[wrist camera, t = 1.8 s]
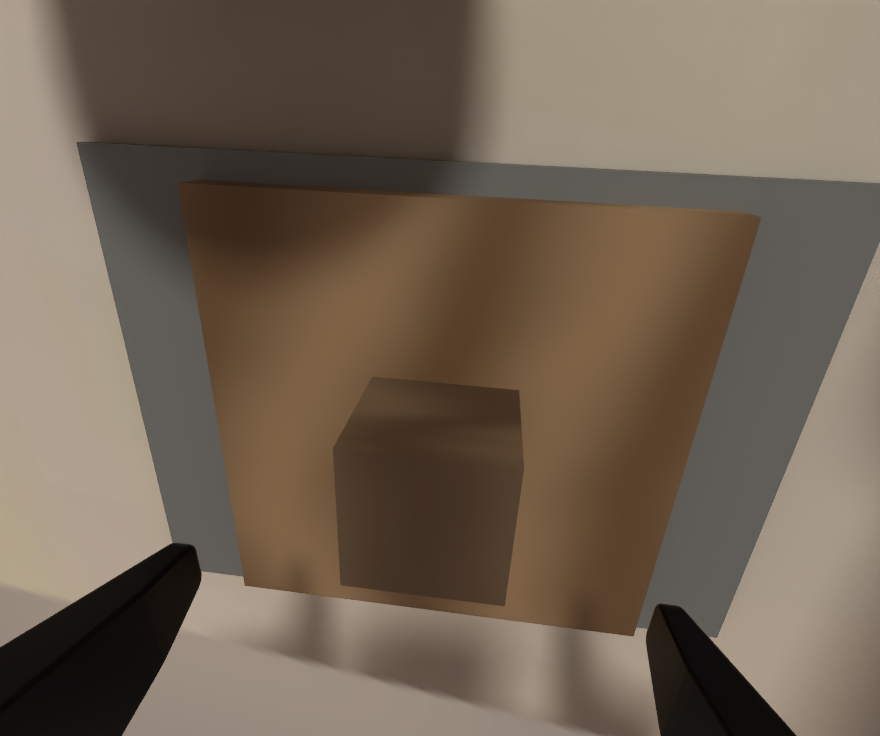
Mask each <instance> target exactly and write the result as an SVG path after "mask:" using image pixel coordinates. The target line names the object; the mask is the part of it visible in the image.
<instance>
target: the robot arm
mask: <svg viewBox="0 0 880 736" xmlns="http://www.w3.org/2000/svg"><path fill="white" fill-rule="evenodd" d="M200 582H201V569H200V565H199V560H198V556H197V551H196V548H195V547H194V546H193V545H191V544H184V543H172V544H170V545H168V546H166V547H165V548H163V549H161V550H160V551H158V552H156V553H155V554H153V555H151V556H150V557H148V558H146V559H145V560H143V561H142V562H140V563H138V564H137V565H135V566H133V567H132V568H130V569H128V570H127V571H125V572H123V573H122V574H120V575H118V576H117V577H115V578H114V579H112V580H110V581H109V582H107V583H105V584H104V585H102V586H100V587H99V588H97V589H95V590H94V591H92V592H90V593H89V594H87V595H86V596H84V597H82V598H81V599H79V600H77V601H76V602H74V603H72V604H71V605H69V606H67V607H66V608H64V609H63V610H61V611H59V612H58V613H56V614H54V615H53V616H51V617H50V618H48V619H46V620H44V621H43V622H42V623H39V624H38V625H36V626H35V627H33V628H31V629H30V630H28V631H26V632H25V633H23V634H21V635H20V636H18V637H16V638H15V639H13V640H11V641H10V642H8V643H7V644H5V645H4V646H2V647H0V736H122V734H123V733H124V731H125V729H126V727H127V725H128V724H129V722H130V720H131V719H132V717H133V715H134V714H135V712H136V710H137V708H138V707H139V705H140V703H141V702H142V700H143V698H144V696H145V695H146V693H147V691H148V689H149V688H150V685H151V684H152V683H153V681H154V679H155V677H156V675H157V674H158V672H159V670H160V668H161V667H162V665H163V663H164V661H165V659H166V657H167V655H168V653H169V651H170V648H171V647H172V644H173V642H174V640H175V638H176V636H177V634H178V631H179V629H180V627H181V625H182V623H183V621H184V618H185V616H186V614H187V612H188V610H189V608H190V605H191V603H192V601H193V599H194V597H195V595H196V592H197V590H198V588H199V586H200ZM646 646H647V653H648V659H649V666H650V672H651V679H652V685H653V691H654V698H655V704H656V711H657V717H658V723H659V729H660V735H661V736H796V735H795V733H794V732H793V731H792V730H791V729H790V728H789V727H788V726H787V724H786V723H785V722H784V721H783V720H782V719H781V718H780V717H779V715H778V714H777V713H776V712H775V711H774V710H773V709H772V708H771V707H770V705H769V704H768V703H767V702H766V701H765V700H764V699H763V698H762V696H761V695H760V694H759V693H758V692H757V691H756V690H755V689H754V687H753V686H752V685H751V684H750V683H749V682H748V681H747V680H746V678H745V677H744V676H743V675H742V674H741V673H740V672H739V671H738V669H737V668H736V667H735V666H734V665H733V664H732V663H731V662H730V661H729V659H728V658H727V657H726V656H725V655H724V654H723V653H722V652H721V650H720V649H719V648H718V647H717V646H716V645H715V644H714V643H713V641H712V640H711V639H710V638H709V637H708V636H707V635H706V634H705V632H704V631H703V630H702V629H701V628H700V627H699V626H698V625H697V624H696V622H695V621H694V620H693V619H692V618H691V617H690V616H689V615H688V613H687V612H686V611H685V610H684V609H683V608H681V607H680V606H677V605H669V604H657V605H656V607H655V609H654V612H653V615H652V618H651V621H650V624H649V627H648V630H647V635H646Z"/></svg>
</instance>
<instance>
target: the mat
mask: <svg viewBox="0 0 880 736" xmlns="http://www.w3.org/2000/svg"><path fill="white" fill-rule="evenodd" d="M77 146H78V151H79V155H80V159H81V163H82V167H83V171H84V176H85V180H86V184H87V188H88V192H89V196H90V201H91V205H92V209H93V213H94V217H95V221H96V225H97V230H98V234H99V238H100V242H101V246H102V250H103V255H104V259H105V263H106V267H107V271H108V275H109V280H110V284H111V288H112V292H113V296H114V300H115V305H116V309H117V313H118V317H119V321H120V325H121V329H122V334H123V338H124V342H125V346H126V350H127V354H128V359H129V363H130V367H131V371H132V375H133V379H134V384H135V388H136V392H137V396H138V400H139V404H140V409H141V413H142V417H143V421H144V425H145V429H146V434H147V438H148V442H149V446H150V450H151V454H152V458H153V463H154V467H155V471H156V475H157V479H158V483H159V488H160V492H161V496H162V500H163V504H164V508H165V513H166V517H167V521H168V525H169V529H170V533H171V538H172V542H173V543H184V544H191V545H193V546H194V547H195V548H196V551H197V556H198V560H199V565H200V569H201V571H206V572H213V573H221V574H229V575H237V576H243V571H242V565H241V559H240V553H239V547H238V541H237V535H236V529H235V523H234V517H233V511H232V505H231V500H230V494H229V488H228V482H227V476H226V470H225V464H224V458H223V452H222V446H221V440H220V434H219V428H218V422H217V416H216V410H215V404H214V398H213V392H212V386H211V380H210V374H209V368H208V362H207V357H206V351H205V345H204V339H203V333H202V327H201V321H200V315H199V309H198V303H197V297H196V291H195V285H194V279H193V273H192V267H191V261H190V255H189V249H188V243H187V237H186V231H185V225H184V219H183V213H182V208H181V202H180V196H179V190H178V184H177V183H180V182H187V181H195V180H211V181H228V182H245V183H263V184H280V185H297V186H314V187H331V188H348V189H366V190H383V191H400V192H417V193H434V194H452V195H469V196H486V197H503V198H520V199H537V200H555V201H572V202H589V203H606V204H623V205H641V206H658V207H675V208H692V209H709V210H726V211H742V212H746V213H749V214H752V215H756V216H759V217H762V218H761V221H760V224H759V228H758V231H757V234H756V237H755V241H754V244H753V247H752V250H751V254H750V257H749V260H748V263H747V267H746V270H745V273H744V277H743V280H742V283H741V286H740V290H739V293H738V296H737V299H736V303H735V306H734V309H733V313H732V316H731V319H730V322H729V326H728V329H727V332H726V335H725V339H724V342H723V345H722V349H721V352H720V355H719V358H718V362H717V365H716V368H715V371H714V375H713V378H712V381H711V384H710V388H709V391H708V394H707V398H706V401H705V404H704V407H703V411H702V414H701V417H700V420H699V424H698V427H697V430H696V434H695V437H694V440H693V443H692V447H691V450H690V453H689V456H688V460H687V463H686V466H685V469H684V473H683V476H682V479H681V483H680V486H679V489H678V492H677V496H676V499H675V502H674V505H673V509H672V512H671V515H670V519H669V522H668V525H667V528H666V532H665V535H664V538H663V541H662V545H661V548H660V551H659V554H658V558H657V561H656V564H655V568H654V571H653V574H652V577H651V581H650V584H649V587H648V590H647V594H646V597H645V600H644V604H643V607H642V610H641V613H640V617H639V620H638V623H637V626H636V627H639V628H647V629H648V627H649V624H650V621H651V618H652V615H653V612H654V609H655V607H656V605H657V604H669V605H677V606H680V607H681V608H683V609H684V610H685V611H686V612H687V613H688V615H689V616H690V617H691V618H692V619H693V620H694V621H695V622H696V624H697V625H698V626H699V627H700V628H701V629H702V630H703V631H704V632H705V634H706V635H707V636H709V637H716V638H717V636H718V634H719V632H720V629H721V627H722V624H723V622H724V619H725V617H726V614H727V612H728V610H729V607H730V605H731V602H732V600H733V597H734V595H735V593H736V590H737V588H738V585H739V583H740V580H741V578H742V575H743V573H744V571H745V568H746V566H747V563H748V561H749V558H750V556H751V554H752V551H753V549H754V546H755V544H756V541H757V539H758V537H759V534H760V532H761V529H762V527H763V524H764V522H765V519H766V517H767V515H768V512H769V510H770V507H771V505H772V502H773V500H774V498H775V495H776V493H777V490H778V488H779V485H780V483H781V481H782V478H783V476H784V473H785V471H786V468H787V466H788V463H789V461H790V459H791V456H792V454H793V451H794V449H795V446H796V444H797V442H798V439H799V437H800V434H801V432H802V429H803V427H804V424H805V422H806V420H807V417H808V415H809V412H810V410H811V407H812V405H813V403H814V400H815V398H816V395H817V393H818V390H819V388H820V386H821V383H822V381H823V378H824V376H825V373H826V371H827V368H828V366H829V364H830V361H831V359H832V356H833V354H834V351H835V349H836V347H837V344H838V342H839V339H840V337H841V334H842V332H843V330H844V327H845V325H846V322H847V320H848V317H849V315H850V312H851V310H852V308H853V305H854V303H855V300H856V298H857V295H858V293H859V291H860V288H861V286H862V283H863V281H864V278H865V276H866V273H867V271H868V269H869V266H870V264H871V261H872V259H873V256H874V254H875V252H876V249H877V247H878V244H879V242H880V183H862V182H843V181H824V180H805V179H786V178H767V177H747V176H728V175H709V174H690V173H671V172H652V171H633V170H614V169H595V168H576V167H556V166H537V165H518V164H499V163H480V162H461V161H442V160H423V159H404V158H385V157H366V156H346V155H327V154H308V153H289V152H270V151H251V150H232V149H213V148H194V147H175V146H156V145H136V144H117V143H98V142H77Z"/></svg>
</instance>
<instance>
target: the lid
mask: <svg viewBox="0 0 880 736" xmlns="http://www.w3.org/2000/svg"><path fill="white" fill-rule="evenodd" d="M177 184H178V190H179V196H180V202H181V208H182V213H183V219H184V225H185V231H186V237H187V243H188V249H189V255H190V261H191V267H192V273H193V279H194V285H195V291H196V297H197V303H198V309H199V315H200V321H201V327H202V333H203V339H204V345H205V351H206V357H207V362H208V368H209V374H210V380H211V386H212V392H213V398H214V404H215V410H216V416H217V422H218V428H219V434H220V440H221V446H222V452H223V458H224V464H225V470H226V476H227V482H228V488H229V494H230V500H231V505H232V511H233V517H234V523H235V529H236V535H237V541H238V547H239V553H240V559H241V565H242V571H243V577H244V583H245V586H253V587H260V588H268V589H276V590H283V591H291V592H299V593H306V594H314V595H322V596H329V597H337V598H344V599H352V600H360V601H367V602H375V603H383V604H390V605H398V606H406V607H413V608H421V609H429V610H436V611H444V612H451V613H459V614H467V615H474V616H482V617H490V618H497V619H505V620H513V621H520V622H528V623H535V624H543V625H551V626H558V627H566V628H574V629H581V630H589V631H597V632H604V633H612V634H620V635H627V636H634V633H635V630H636V626H637V623H638V620H639V617H640V613H641V610H642V607H643V604H644V600H645V597H646V594H647V590H648V587H649V584H650V581H651V577H652V574H653V571H654V568H655V564H656V561H657V558H658V554H659V551H660V548H661V545H662V541H663V538H664V535H665V532H666V528H667V525H668V522H669V519H670V515H671V512H672V509H673V505H674V502H675V499H676V496H677V492H678V489H679V486H680V483H681V479H682V476H683V473H684V469H685V466H686V463H687V460H688V456H689V453H690V450H691V447H692V443H693V440H694V437H695V434H696V430H697V427H698V424H699V420H700V417H701V414H702V411H703V407H704V404H705V401H706V398H707V394H708V391H709V388H710V384H711V381H712V378H713V375H714V371H715V368H716V365H717V362H718V358H719V355H720V352H721V349H722V345H723V342H724V339H725V335H726V332H727V329H728V326H729V322H730V319H731V316H732V313H733V309H734V306H735V303H736V299H737V296H738V293H739V290H740V286H741V283H742V280H743V277H744V273H745V270H746V267H747V263H748V260H749V257H750V254H751V250H752V247H753V244H754V241H755V237H756V234H757V231H758V228H759V224H760V221H761V218H762V217H759V216H756V215H752V214H749V213H746V212H742V211H726V210H709V209H692V208H675V207H658V206H641V205H623V204H606V203H589V202H572V201H555V200H537V199H520V198H503V197H486V196H469V195H452V194H434V193H417V192H400V191H383V190H366V189H348V188H331V187H314V186H297V185H280V184H263V183H245V182H228V181H211V180H195V181H187V182H180V183H177Z"/></svg>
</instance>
